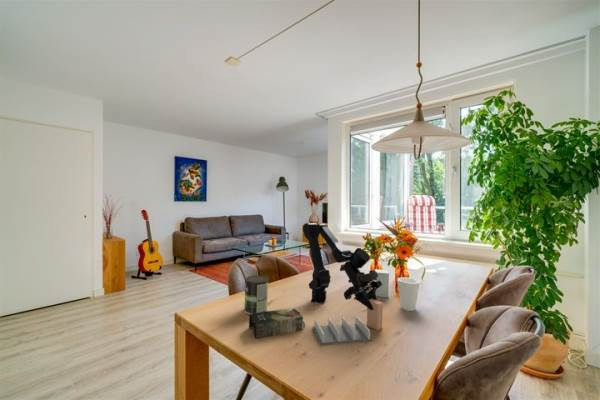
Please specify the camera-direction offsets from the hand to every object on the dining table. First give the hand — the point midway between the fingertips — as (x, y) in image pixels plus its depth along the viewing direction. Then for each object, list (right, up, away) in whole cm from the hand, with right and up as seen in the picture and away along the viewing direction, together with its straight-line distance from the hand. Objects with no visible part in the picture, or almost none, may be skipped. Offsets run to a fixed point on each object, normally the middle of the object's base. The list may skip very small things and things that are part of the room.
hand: (375, 308), depth 103 cm
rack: (-15, -7, -6) cm, 17 cm away
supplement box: (+14, -8, +38) cm, 41 cm away
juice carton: (-39, -7, -3) cm, 39 cm away
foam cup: (+21, -8, +20) cm, 30 cm away
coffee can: (-49, -6, +13) cm, 52 cm away
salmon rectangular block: (0, -7, 0) cm, 7 cm away
